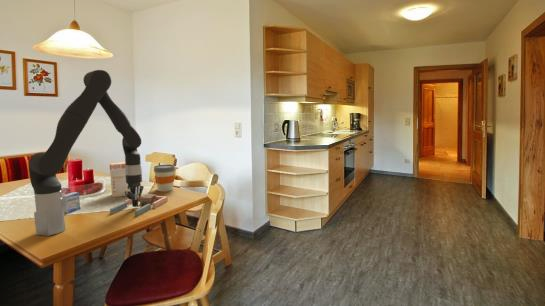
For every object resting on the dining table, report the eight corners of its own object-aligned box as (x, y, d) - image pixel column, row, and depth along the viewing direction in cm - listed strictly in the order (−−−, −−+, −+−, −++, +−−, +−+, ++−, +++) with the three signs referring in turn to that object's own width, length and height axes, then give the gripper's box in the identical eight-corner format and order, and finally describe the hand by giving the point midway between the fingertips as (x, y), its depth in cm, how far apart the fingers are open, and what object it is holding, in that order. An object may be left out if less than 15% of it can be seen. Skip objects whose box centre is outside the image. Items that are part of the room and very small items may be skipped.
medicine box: (68, 213, 152) (66, 196, 151) (60, 213, 153) (58, 196, 152) (80, 208, 160) (79, 192, 159) (73, 208, 161) (71, 191, 160)
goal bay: (155, 207, 161) (155, 203, 161) (124, 205, 165) (123, 201, 165) (167, 200, 174) (167, 196, 173) (138, 199, 177) (138, 194, 177)
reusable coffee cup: (151, 189, 197) (149, 166, 195) (168, 186, 206) (167, 163, 204) (161, 193, 189) (160, 169, 187) (179, 189, 198) (178, 166, 196)
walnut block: (150, 205, 167) (150, 197, 166) (140, 204, 168) (139, 197, 167) (156, 201, 173) (156, 194, 172) (146, 201, 174) (146, 194, 173)
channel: (137, 215, 150) (137, 210, 149) (110, 213, 152) (109, 208, 152) (150, 208, 160) (150, 203, 160) (124, 206, 163) (124, 202, 163)
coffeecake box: (139, 191, 193) (137, 160, 190) (140, 194, 186) (138, 162, 183) (112, 194, 187) (110, 162, 184) (111, 197, 180) (109, 164, 177)
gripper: (132, 176, 151) (134, 210, 153) (147, 171, 164) (149, 203, 166) (118, 175, 152) (120, 209, 155) (134, 170, 165) (136, 202, 167)
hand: (135, 206), depth 160 cm, fingers closed
